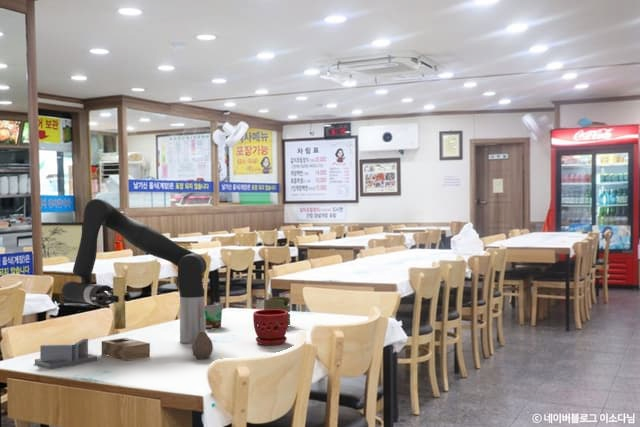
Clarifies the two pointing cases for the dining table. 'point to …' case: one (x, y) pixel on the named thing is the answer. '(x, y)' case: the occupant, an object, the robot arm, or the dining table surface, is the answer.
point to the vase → (202, 346)
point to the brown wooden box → (126, 349)
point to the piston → (278, 304)
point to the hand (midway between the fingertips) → (123, 298)
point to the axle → (119, 302)
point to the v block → (64, 355)
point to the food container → (213, 315)
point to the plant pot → (270, 326)
